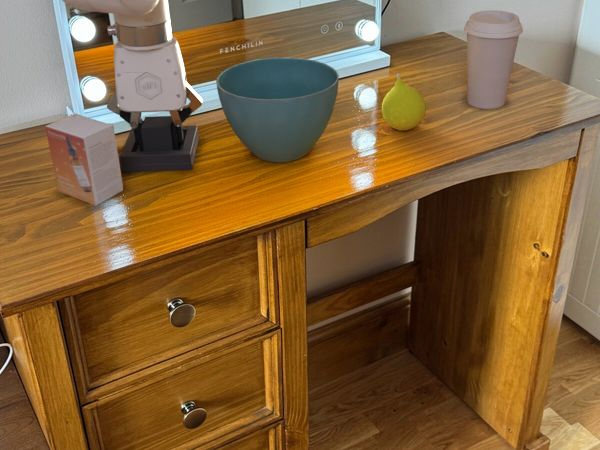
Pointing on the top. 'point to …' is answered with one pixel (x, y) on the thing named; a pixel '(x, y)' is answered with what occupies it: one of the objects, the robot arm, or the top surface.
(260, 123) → the teal bowl
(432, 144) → the top surface
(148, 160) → the small dark tray
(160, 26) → the robot arm
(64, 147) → the small box
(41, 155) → the top surface
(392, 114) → the ornament
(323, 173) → the top surface
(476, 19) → the coffee cup
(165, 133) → the black cube
